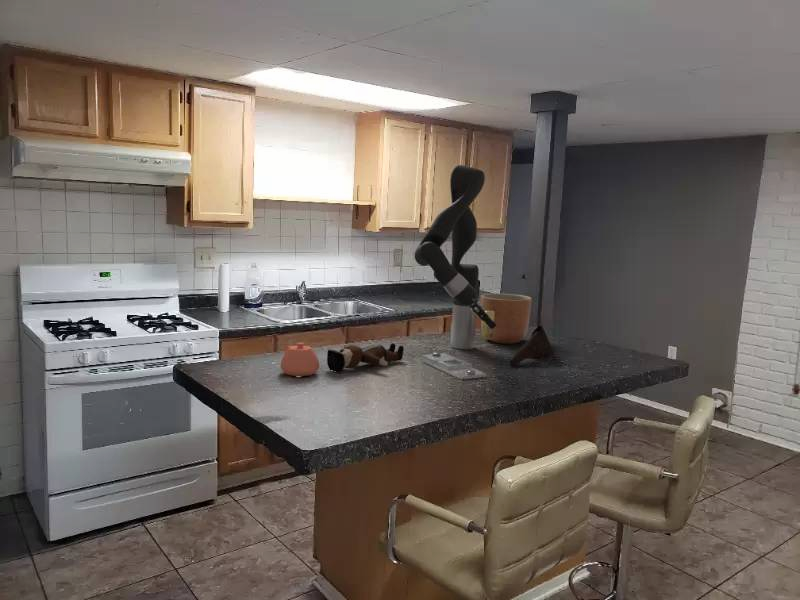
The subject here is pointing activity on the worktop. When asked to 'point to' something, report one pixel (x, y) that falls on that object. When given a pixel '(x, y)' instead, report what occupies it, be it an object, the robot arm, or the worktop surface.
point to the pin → (486, 330)
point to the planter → (508, 316)
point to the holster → (534, 347)
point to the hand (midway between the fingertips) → (493, 325)
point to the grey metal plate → (452, 365)
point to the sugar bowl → (299, 360)
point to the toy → (362, 356)
